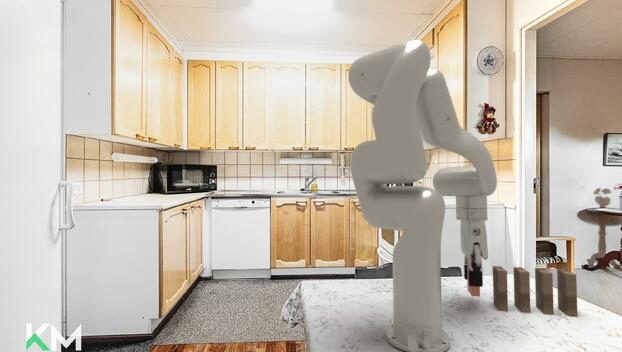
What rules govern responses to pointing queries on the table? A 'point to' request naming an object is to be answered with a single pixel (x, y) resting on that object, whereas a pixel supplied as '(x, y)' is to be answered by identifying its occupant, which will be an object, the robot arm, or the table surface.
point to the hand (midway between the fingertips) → (473, 282)
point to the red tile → (472, 289)
